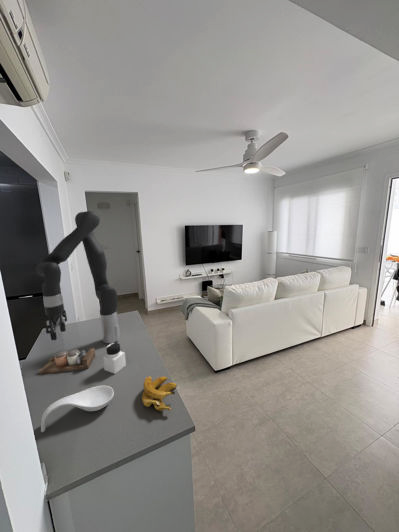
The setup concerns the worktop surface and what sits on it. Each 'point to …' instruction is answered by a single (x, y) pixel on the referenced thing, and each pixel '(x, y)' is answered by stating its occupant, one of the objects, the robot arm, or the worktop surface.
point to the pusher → (80, 357)
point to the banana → (157, 392)
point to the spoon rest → (82, 401)
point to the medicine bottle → (114, 358)
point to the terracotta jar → (61, 359)
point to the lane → (85, 365)
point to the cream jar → (72, 357)
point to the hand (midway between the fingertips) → (58, 335)
